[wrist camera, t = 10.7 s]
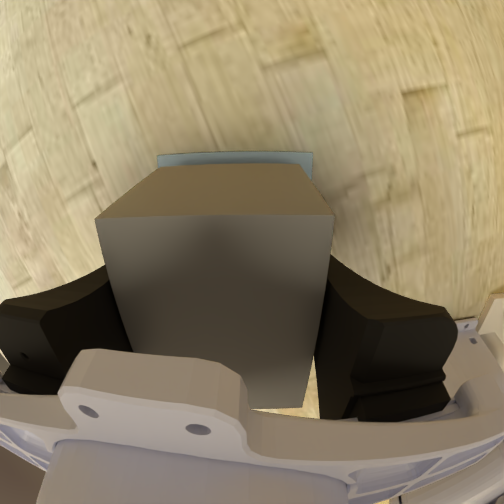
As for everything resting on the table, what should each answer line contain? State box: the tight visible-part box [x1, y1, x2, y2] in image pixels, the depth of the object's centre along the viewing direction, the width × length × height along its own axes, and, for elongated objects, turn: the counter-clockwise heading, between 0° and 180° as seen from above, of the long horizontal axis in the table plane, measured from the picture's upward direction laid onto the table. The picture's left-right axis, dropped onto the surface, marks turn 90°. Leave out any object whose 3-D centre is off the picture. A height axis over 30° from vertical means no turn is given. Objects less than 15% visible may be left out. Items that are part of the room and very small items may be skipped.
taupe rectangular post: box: [95, 163, 335, 409], centre depth 11 cm, size 8×6×6 cm
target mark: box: [157, 151, 313, 181], centre depth 16 cm, size 8×8×1 cm
